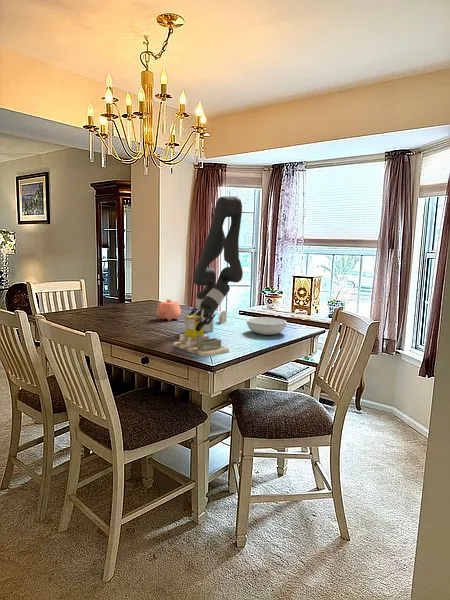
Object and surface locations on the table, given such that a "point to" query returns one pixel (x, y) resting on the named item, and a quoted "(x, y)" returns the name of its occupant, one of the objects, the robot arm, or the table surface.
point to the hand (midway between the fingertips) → (191, 328)
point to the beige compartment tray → (201, 345)
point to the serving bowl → (266, 325)
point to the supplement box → (192, 326)
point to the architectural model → (222, 317)
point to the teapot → (168, 310)
